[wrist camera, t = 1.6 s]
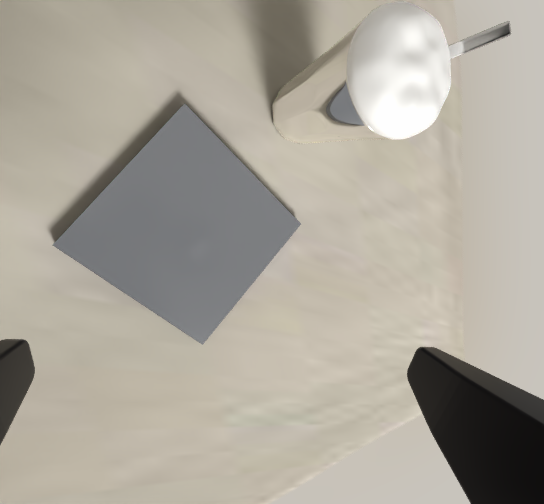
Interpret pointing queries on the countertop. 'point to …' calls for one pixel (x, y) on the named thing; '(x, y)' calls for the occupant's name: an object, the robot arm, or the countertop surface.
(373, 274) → the countertop surface
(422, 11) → the milkshake
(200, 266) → the coaster
